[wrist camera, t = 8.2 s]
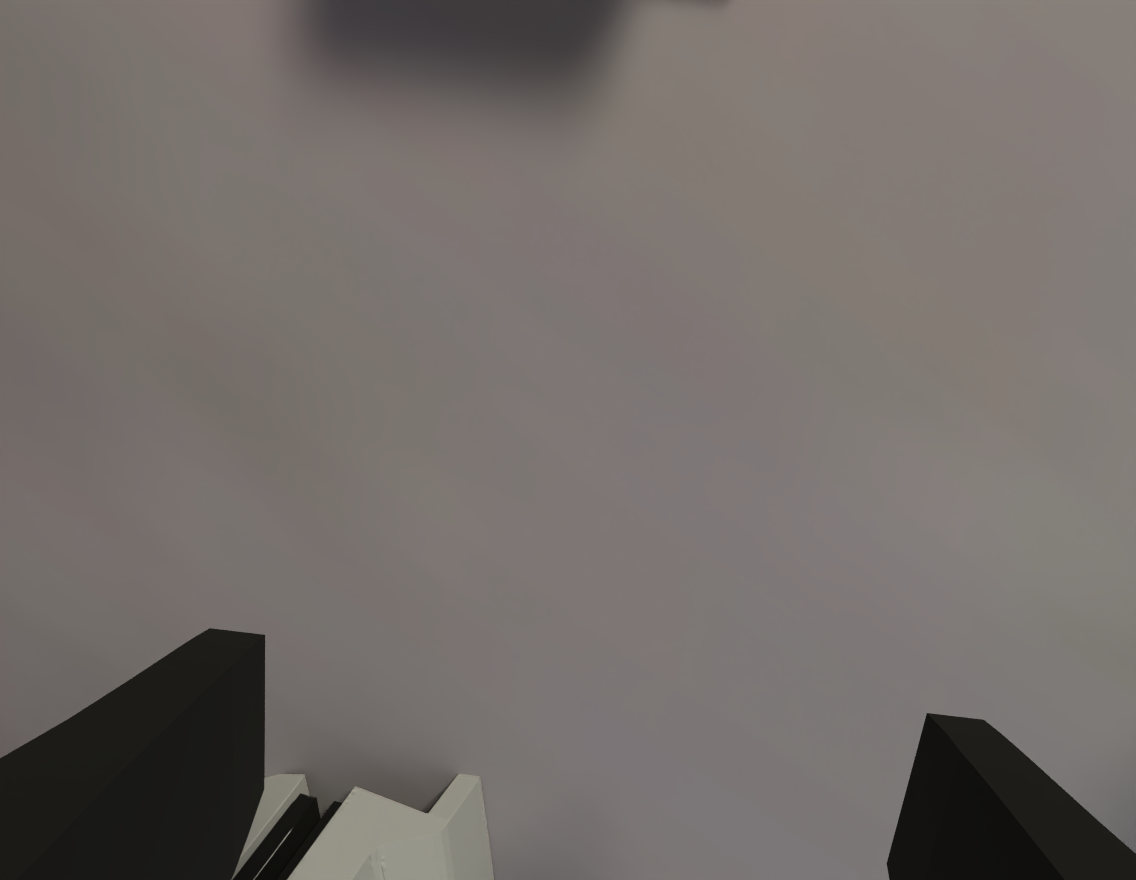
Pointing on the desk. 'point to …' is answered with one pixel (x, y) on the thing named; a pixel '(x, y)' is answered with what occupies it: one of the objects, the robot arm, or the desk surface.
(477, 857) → the grey curved piece
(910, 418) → the desk surface
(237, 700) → the robot arm
